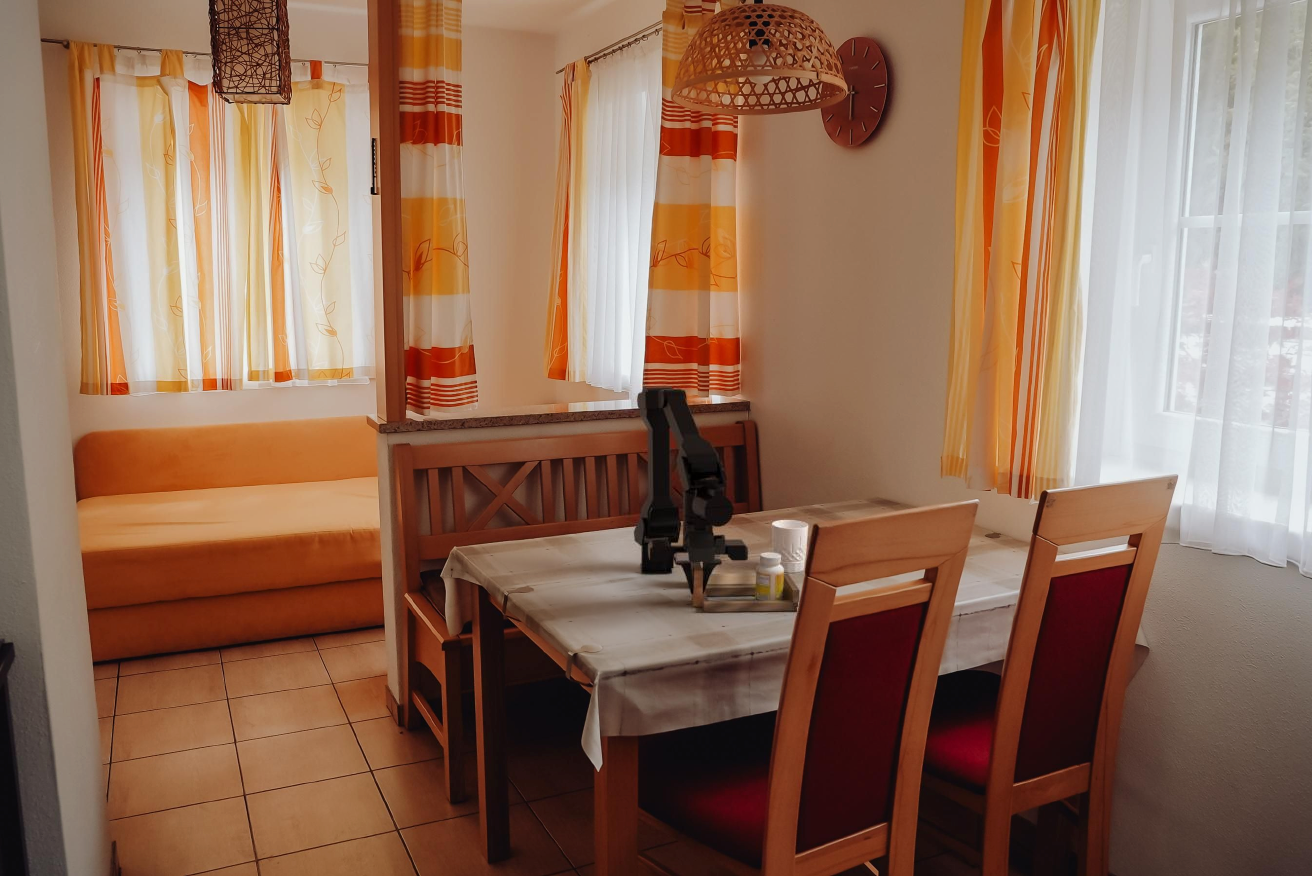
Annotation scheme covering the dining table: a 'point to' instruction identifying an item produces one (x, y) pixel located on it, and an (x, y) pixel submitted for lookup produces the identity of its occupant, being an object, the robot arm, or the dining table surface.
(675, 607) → the dining table surface
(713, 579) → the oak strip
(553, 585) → the dining table surface
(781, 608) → the wooden tray
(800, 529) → the white cup
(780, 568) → the supplement bottle
